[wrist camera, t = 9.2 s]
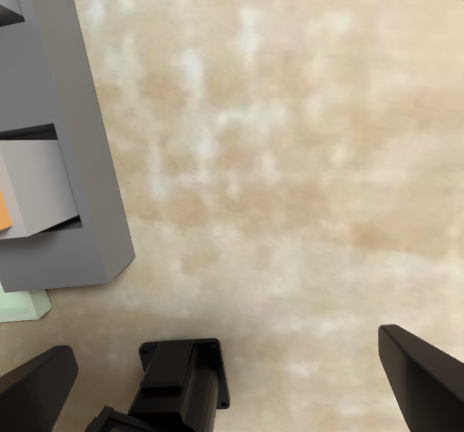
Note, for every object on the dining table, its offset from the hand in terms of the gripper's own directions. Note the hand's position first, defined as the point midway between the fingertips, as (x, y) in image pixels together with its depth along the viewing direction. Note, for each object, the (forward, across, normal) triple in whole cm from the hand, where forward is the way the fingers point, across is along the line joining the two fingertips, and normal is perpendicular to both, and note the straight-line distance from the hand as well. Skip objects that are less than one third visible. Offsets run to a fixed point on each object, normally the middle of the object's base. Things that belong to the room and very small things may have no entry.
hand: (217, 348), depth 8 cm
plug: (+11, +12, -5) cm, 17 cm away
